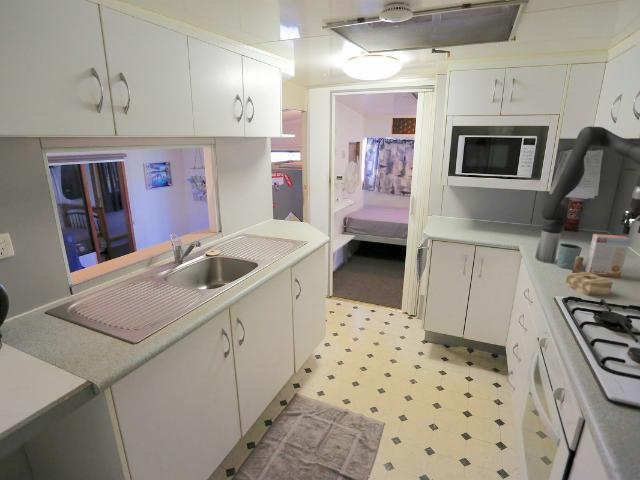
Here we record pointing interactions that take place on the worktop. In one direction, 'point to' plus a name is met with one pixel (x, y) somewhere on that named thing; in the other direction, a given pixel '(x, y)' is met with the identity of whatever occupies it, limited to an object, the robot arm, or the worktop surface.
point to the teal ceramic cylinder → (568, 255)
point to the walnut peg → (577, 264)
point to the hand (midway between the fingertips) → (632, 233)
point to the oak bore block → (588, 283)
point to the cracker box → (607, 255)
